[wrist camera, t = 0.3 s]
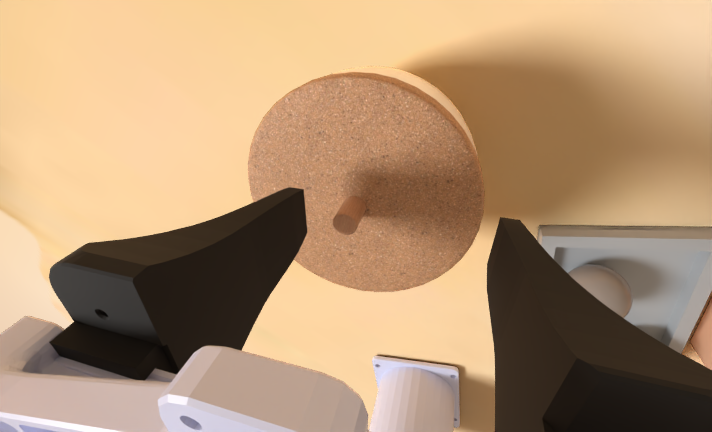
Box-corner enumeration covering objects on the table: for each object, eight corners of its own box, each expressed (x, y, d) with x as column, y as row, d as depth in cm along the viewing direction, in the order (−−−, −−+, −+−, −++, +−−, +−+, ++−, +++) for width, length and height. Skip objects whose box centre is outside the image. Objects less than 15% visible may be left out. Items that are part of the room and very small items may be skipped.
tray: (660, 365, 25) (668, 380, 24) (523, 349, 28) (525, 362, 27) (722, 227, 19) (736, 240, 18) (539, 225, 22) (542, 236, 21)
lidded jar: (298, 184, 25) (223, 268, 17) (324, 22, 19) (226, 42, 11) (438, 236, 24) (424, 347, 16) (515, 83, 18) (549, 150, 10)
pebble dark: (613, 297, 22) (634, 342, 19) (551, 293, 24) (562, 335, 21) (626, 253, 21) (652, 296, 18) (558, 251, 22) (572, 291, 19)
